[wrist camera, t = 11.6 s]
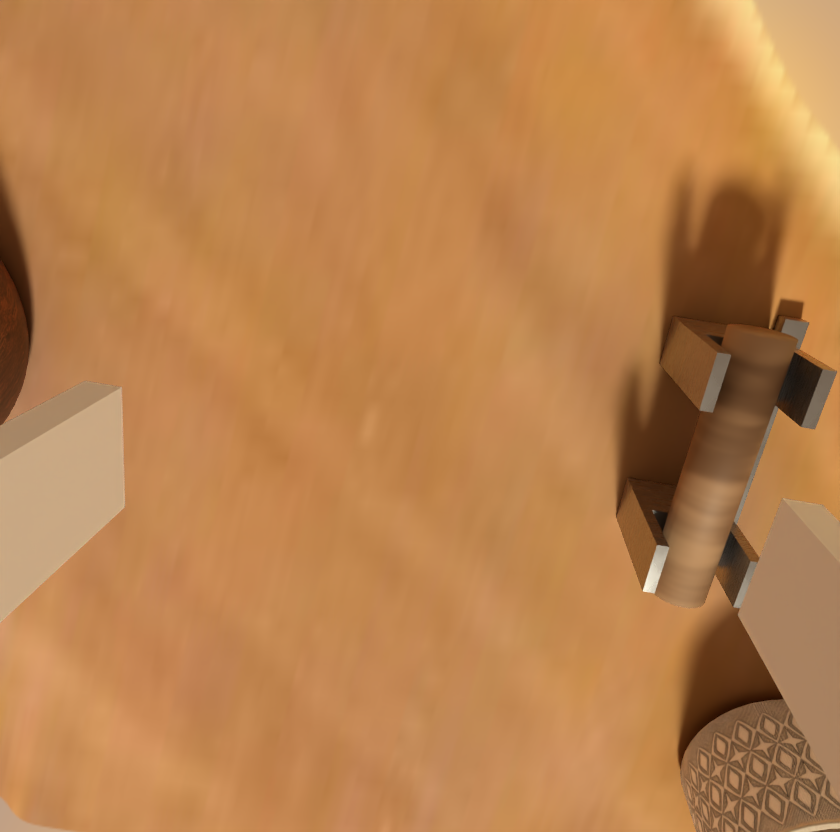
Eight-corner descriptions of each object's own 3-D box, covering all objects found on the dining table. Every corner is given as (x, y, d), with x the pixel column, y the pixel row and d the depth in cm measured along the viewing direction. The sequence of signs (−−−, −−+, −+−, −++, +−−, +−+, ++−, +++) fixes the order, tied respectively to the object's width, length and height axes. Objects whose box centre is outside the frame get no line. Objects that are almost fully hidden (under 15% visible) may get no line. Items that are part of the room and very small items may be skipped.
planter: (906, 726, 58) (1013, 870, 46) (803, 845, 64) (874, 1000, 52) (732, 663, 57) (795, 792, 45) (645, 789, 63) (680, 932, 51)
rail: (735, 321, 43) (720, 327, 40) (802, 336, 41) (792, 345, 38) (657, 567, 50) (639, 589, 47) (711, 591, 48) (696, 616, 45)
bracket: (677, 299, 47) (723, 332, 38) (801, 318, 47) (879, 356, 37) (612, 530, 54) (637, 605, 45) (720, 548, 53) (768, 629, 44)
